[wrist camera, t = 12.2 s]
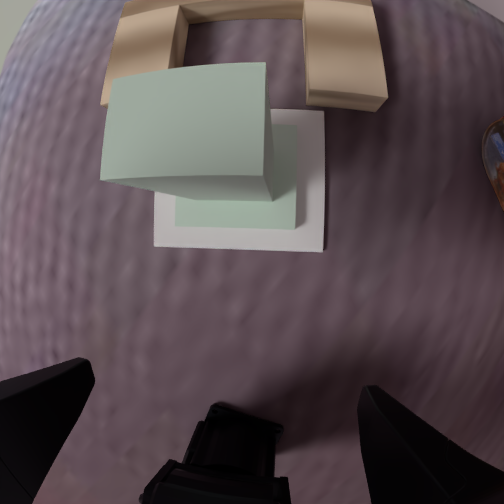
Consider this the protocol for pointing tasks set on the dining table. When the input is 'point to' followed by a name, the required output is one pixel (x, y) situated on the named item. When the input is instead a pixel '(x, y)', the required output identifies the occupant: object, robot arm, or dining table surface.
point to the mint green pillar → (204, 145)
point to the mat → (300, 239)
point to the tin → (495, 157)
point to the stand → (262, 7)
